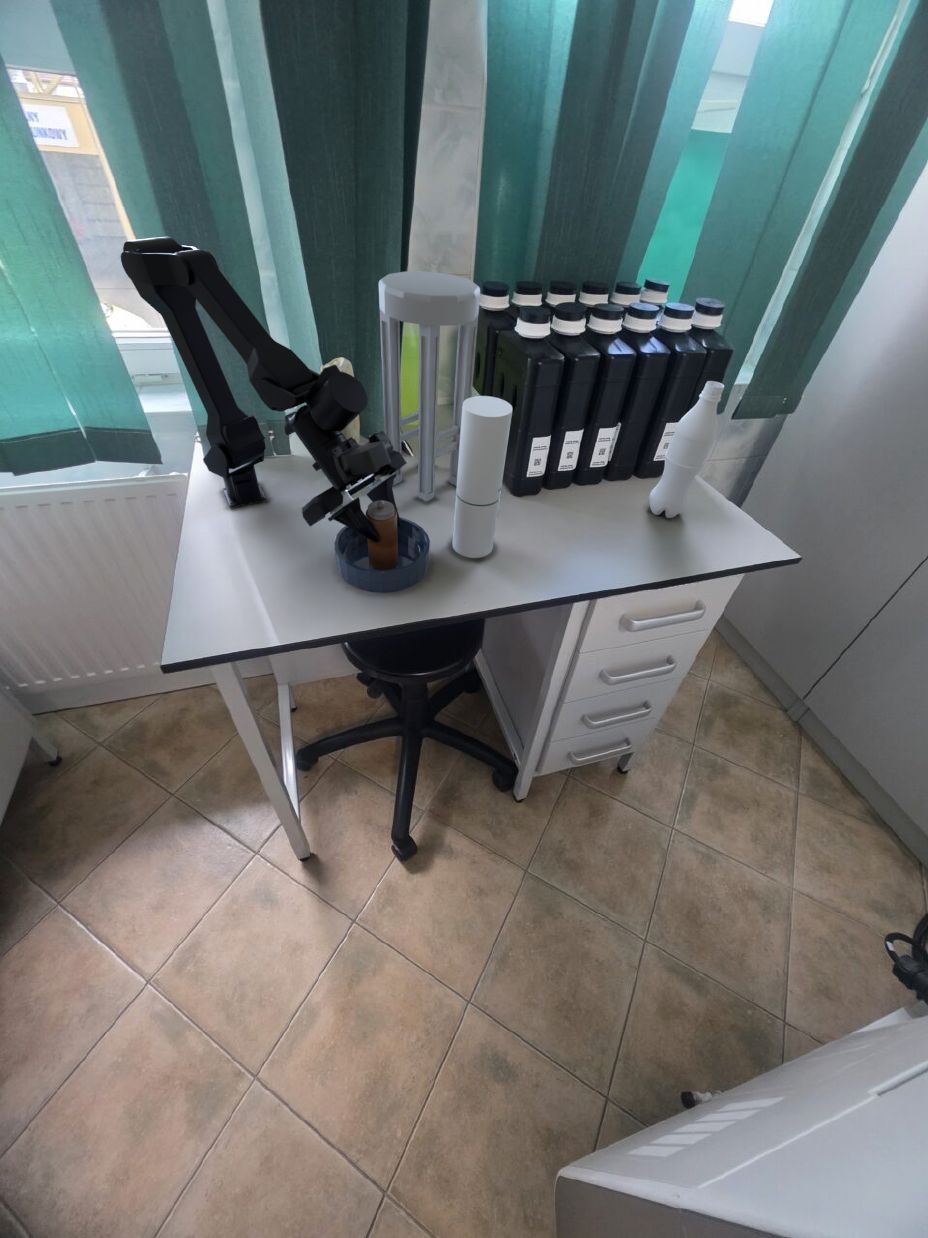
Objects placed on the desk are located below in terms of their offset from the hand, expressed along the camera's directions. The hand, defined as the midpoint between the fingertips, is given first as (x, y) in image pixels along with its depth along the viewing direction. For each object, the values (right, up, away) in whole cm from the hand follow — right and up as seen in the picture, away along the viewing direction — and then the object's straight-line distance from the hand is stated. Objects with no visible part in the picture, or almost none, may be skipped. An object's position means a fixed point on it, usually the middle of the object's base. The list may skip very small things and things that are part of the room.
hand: (389, 533), depth 79 cm
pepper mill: (-2, -4, +5) cm, 6 cm away
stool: (+4, +15, +25) cm, 29 cm away
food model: (-13, +20, +28) cm, 37 cm away
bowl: (-2, -4, +5) cm, 7 cm away
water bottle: (+52, +8, +24) cm, 58 cm away
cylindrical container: (+13, -1, +10) cm, 17 cm away
